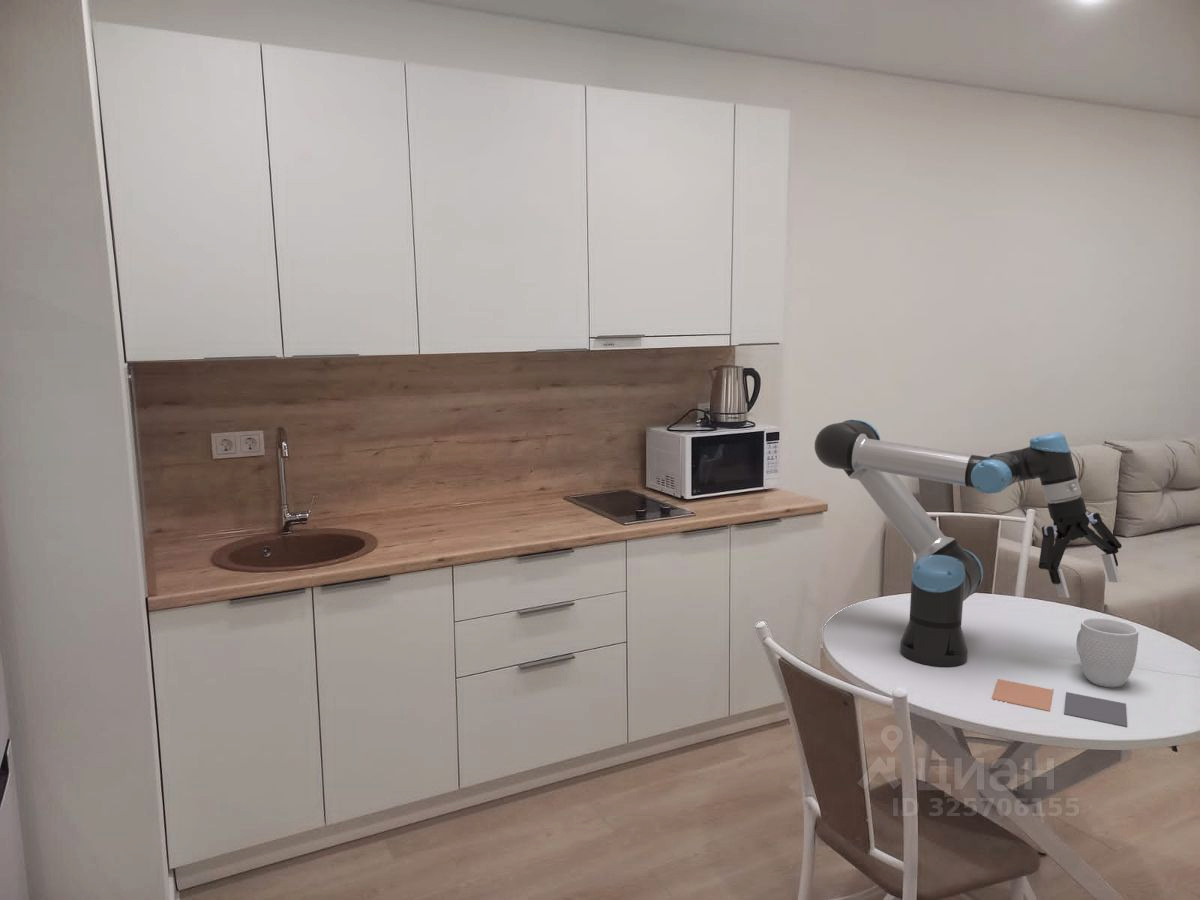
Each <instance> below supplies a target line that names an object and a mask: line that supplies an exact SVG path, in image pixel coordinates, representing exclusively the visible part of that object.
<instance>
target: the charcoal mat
mask: <svg viewBox="0 0 1200 900" xmlns="http://www.w3.org/2000/svg"><path fill="white" fill-rule="evenodd" d="M1064 701H1065V702H1064V709H1063V715H1064V716H1069V717H1073V718H1074V717H1075V718H1080V719H1085V720H1088V721H1089V720H1090V721H1093V722H1094V721H1095V722H1099V723H1104V724H1108V725H1114V726H1119V727H1123V728H1128V715H1127V714H1128V713H1127V703H1126V702H1125V703H1124V702H1119V701H1114V700H1110V699H1109V700H1108V699H1104V698H1099V697H1093V696H1088V695H1083V694H1078V693H1073V692H1069V691H1066V693H1065V700H1064Z"/></svg>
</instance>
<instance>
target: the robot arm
mask: <svg viewBox="0 0 1200 900" xmlns="http://www.w3.org/2000/svg"><path fill="white" fill-rule="evenodd" d="M1069 447H1070V446H1069V444H1068V442H1067V439H1066V436H1065V434H1064V433H1062V432H1053V433H1047V434H1044V435H1039V436H1035V437H1032V438H1030V439H1029V446H1027V447H1025V448H1021V449H1020V448H1019V449H1014V450H1010V451H1005V452H1000V453H993V454H990V455H987V456H983V455H976V454H975V455H974V454H969V453H965V452H964V453H963V452H957V451H952V450H951V451H950V450H944V449H938V448H937V449H936V448H931V447H924V446H918V445H913V444H905V443H900V442H893V441H886V440H881V437H880V434H879V432H878V430H877V429H876V428H875V426H873V425H872V424H871V423H869V422H867V421H865V420H860V419H848V420H844V421H842V422H837V423H832V424H831V423H830V424H829V425H826V426H825V427H823V428H822V429H821V430H820V431H819V432H818V434H817V435H816V437H815V440H814V452H815V454H816V456H817V459H818V460H819V462H821V463H822V464H823V465H825V466H826V467H829V468H831V469H836V470H837V469H838V470H843V471H844V473H846V475H847V477H848V478H849V479H853V480H857V481H859V482H860V484H861V485H862V486H863V488H864V489H865V490H866V492H867V493H868V495H870V497H871V498H872V500H873V501H874V502H875V503H876V505H877V506H878V508H880V510H881V511H882V513H883V514H884V515H885V517H886V518H887V519H888V520H889V521H890V524H892V525H893V527H894V528H895V529H896V531H897V532H898V533H899V534H900V536H901V538H902V539H903V540H904V541H905V543H906V544H907V546H908V547H909V548H910V549H911V550H912V552H913V553H914V555H915V561H914V562H913V564H912V570H911V575H910V578H911V581H910V582H911V584H910V602H909V604H910V607H909V619H908V620H909V621H908V623H907V626H906V628H905V631H904V633H903V634H902V638H901V639H900V644H899V645H900V650H899V651H900V654H901V655H902V656H904V657H905V658H907V659H908V660H911V661H913V662H916V663H920V664H923V665H928V666H935V667H957V666H961V665H963V664H965V663H966V662H967V661H968V653H969V651H968V647H967V643H966V640H965V636H964V632H963V629H962V622H963V621H962V619H963V607H964V606H963V604H964V601H966V600H967V599H968V598H969V597H970V596H972V595H974V594H975V593H976V592H977V591H978V589H979V588H980V586H981V583H983V582H982V581H983V578H984V570H983V569H984V568H983V566H982V562H981V561H980V559H979V558H978V557H977V556H976V555H975V553H973V552H971V551H970V550H967V549H964V548H963V547H962V546H961V545H960V543H959V542H958V541H957V540H956V538H955V537H949V536H946V535H944V533H943V531H942V530H941V529H940V528H939V527H938V526H937V524H936V523H935V522H934V521H933V519H932V518H931V516H930V515H929V514H928V513H927V512H926V510H925V509H924V507H923V506H922V505H921V504H920V503H919V501H918V500H917V499H916V497H915V496H914V495H913V493H912V492H911V491H910V489H909V488H908V487H907V486H906V485H905V484H904V482H903V481H902V479H901V478H900V477H899V475H900V476H906V477H910V478H916V479H923V480H928V481H933V482H939V483H945V484H950V485H956V486H961V487H962V486H963V487H968V488H973V489H975V490H978V491H979V492H981V493H983V494H989V495H990V494H997V493H1000V492H1002V491H1004V490H1005V489H1007V488H1008V487H1010V486H1012V485H1013V484H1015V483H1020V482H1024V481H1029V480H1035V479H1039V480H1040V481H1039V482H1040V483H1041V488H1042V491H1043V496H1044V499H1045V502H1048V503H1047V504H1046V506H1047V509H1048V512H1049V517H1050V518H1051V519H1052V521H1053V525H1050V526H1049V525H1048V526H1047V525H1046V526H1045V525H1044V526H1042V527H1041V533H1042V540H1041V547H1040V554H1039V562H1038V568H1039V569H1040V570H1047V572H1048V573H1049V578H1050V582H1051V583H1052V584H1053V585H1055V589H1056V592H1057V597H1058V598H1066V599H1067V598H1070V594H1069V589H1068V587H1067V583H1066V578H1065V575H1064V572H1063V569H1062V568H1059V566H1060V564H1061V562H1062V560H1063V556H1064V554H1065V551H1066V548H1067V546H1068V545H1069V544H1070V543H1071V541H1075V540H1077V539H1079V538H1080V539H1081V538H1085V539H1086V540H1088V541H1089V542H1090V543H1091V544H1093V545H1094V546H1096V547H1097V548H1098V549H1100V550H1101V551H1102V552H1103V553H1101V558H1102V561H1103V565H1104V569H1105V572H1106V575H1107V578H1108V582H1109V583H1121V578H1120V575H1119V572H1118V571H1119V570H1118V567H1119V563H1118V559H1117V556H1116V554H1118V552H1119V549H1121V548H1122V547H1123V545H1122V544H1121V542H1120V541H1119V539H1117V537H1116V536H1115V535H1114V534H1113V533H1112V532H1111V530H1110V529H1109V528H1108V527H1107V525H1106V524H1105V523H1104V522H1103V520H1102V517H1101V515H1100V513H1099V512H1092V513H1091V512H1090V513H1088V514H1087V511H1088V510H1087V507H1086V503H1085V499H1084V498H1083V497H1082V496H1081V495H1082V489H1081V486H1080V482H1079V478H1078V475H1077V472H1076V468H1075V465H1074V461H1073V456H1072V452H1071V449H1070V448H1069ZM1089 525H1091V527H1092V528H1090V527H1089ZM1093 529H1094V530H1095V531H1094V530H1093ZM1055 535H1056V536H1055Z"/></svg>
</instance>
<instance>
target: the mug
mask: <svg viewBox="0 0 1200 900" xmlns="http://www.w3.org/2000/svg"><path fill="white" fill-rule="evenodd" d="M1139 632H1140V631H1139V629H1138V627H1136V626H1135V625H1133V624H1131V623H1129V622H1126V621H1122V620H1118V619H1113V618H1106V617H1086V618H1083V619H1082V620H1081V623H1080V629H1079V630H1078V633H1077V636H1076V645H1075V646H1076V651H1077V654H1078V657H1079V659H1080V665H1081V668H1082V672H1083V674H1084V676H1085V677H1086V679H1087V680H1088V681H1089V682H1090V683H1092V684H1094V685H1097V686H1101V687H1105V688H1114V689H1115V688H1120V687H1121V686H1123V685H1124V684H1125V683H1126V681H1128V680H1129V677H1130V676H1131V674H1132V671H1133V669H1134V666H1135V662H1136V657H1137V651H1138V644H1139V643H1138V642H1139Z"/></svg>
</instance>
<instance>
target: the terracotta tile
mask: <svg viewBox="0 0 1200 900" xmlns="http://www.w3.org/2000/svg"><path fill="white" fill-rule="evenodd" d="M1053 694H1054V689H1051V688H1046V687H1040V686H1035V685H1031V684H1025V683H1020V682H1015V681H1010V680H1005V679H999V678H998V679H997V681H996V683H995V687H994V689H993V692H992V695H991V699H993V700H992V701H995V700H998V701H997V702H1000V701H1002V702H1001V703H1005V702H1007V703H1006V704H1010V705H1016V706H1020V707H1025V708H1030V709H1036V710H1040V711H1045V712H1051V706H1052V701H1053Z"/></svg>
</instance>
